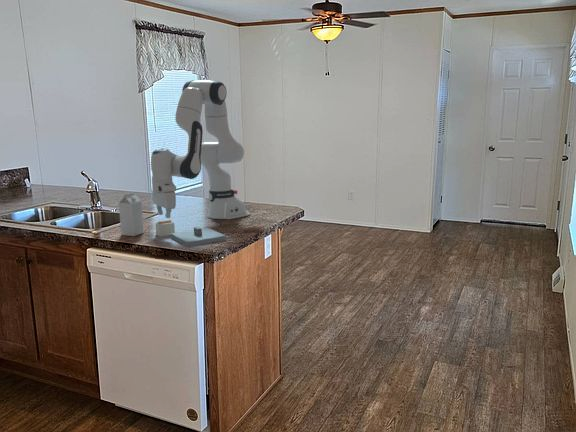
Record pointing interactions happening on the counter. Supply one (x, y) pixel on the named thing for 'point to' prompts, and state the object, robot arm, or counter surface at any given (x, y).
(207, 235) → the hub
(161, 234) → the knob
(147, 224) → the counter surface
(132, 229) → the milk carton
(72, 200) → the counter surface
